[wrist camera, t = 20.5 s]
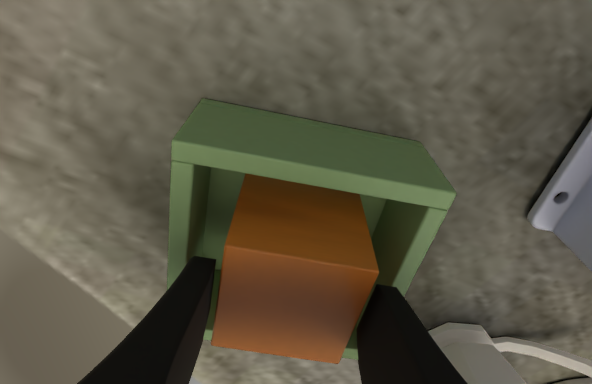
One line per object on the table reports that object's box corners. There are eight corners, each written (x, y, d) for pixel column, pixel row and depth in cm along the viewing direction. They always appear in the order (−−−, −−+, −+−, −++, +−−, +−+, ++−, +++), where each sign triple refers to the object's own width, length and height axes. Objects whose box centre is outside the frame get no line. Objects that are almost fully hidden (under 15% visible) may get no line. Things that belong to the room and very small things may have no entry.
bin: (357, 292, 17) (370, 362, 14) (189, 266, 16) (164, 335, 13) (420, 141, 13) (458, 193, 10) (201, 97, 12) (170, 139, 9)
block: (330, 273, 15) (339, 365, 11) (232, 257, 14) (210, 346, 11) (359, 191, 13) (380, 272, 9) (246, 169, 12) (224, 245, 9)
